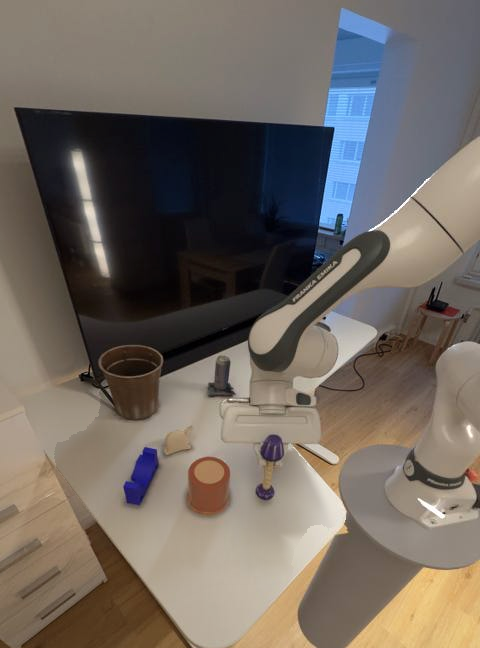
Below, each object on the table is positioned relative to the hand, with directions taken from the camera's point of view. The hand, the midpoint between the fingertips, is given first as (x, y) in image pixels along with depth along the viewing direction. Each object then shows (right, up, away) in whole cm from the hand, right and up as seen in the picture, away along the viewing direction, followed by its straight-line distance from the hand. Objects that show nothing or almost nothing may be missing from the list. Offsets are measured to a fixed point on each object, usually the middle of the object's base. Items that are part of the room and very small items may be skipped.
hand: (270, 466), depth 69 cm
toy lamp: (-1, -7, +7) cm, 10 cm away
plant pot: (-36, +14, +32) cm, 50 cm away
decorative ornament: (-22, +2, +21) cm, 31 cm away
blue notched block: (-30, -5, +12) cm, 32 cm away
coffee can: (+19, +32, +59) cm, 70 cm away
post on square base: (-13, +19, +41) cm, 47 cm away
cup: (-13, -8, +10) cm, 19 cm away
